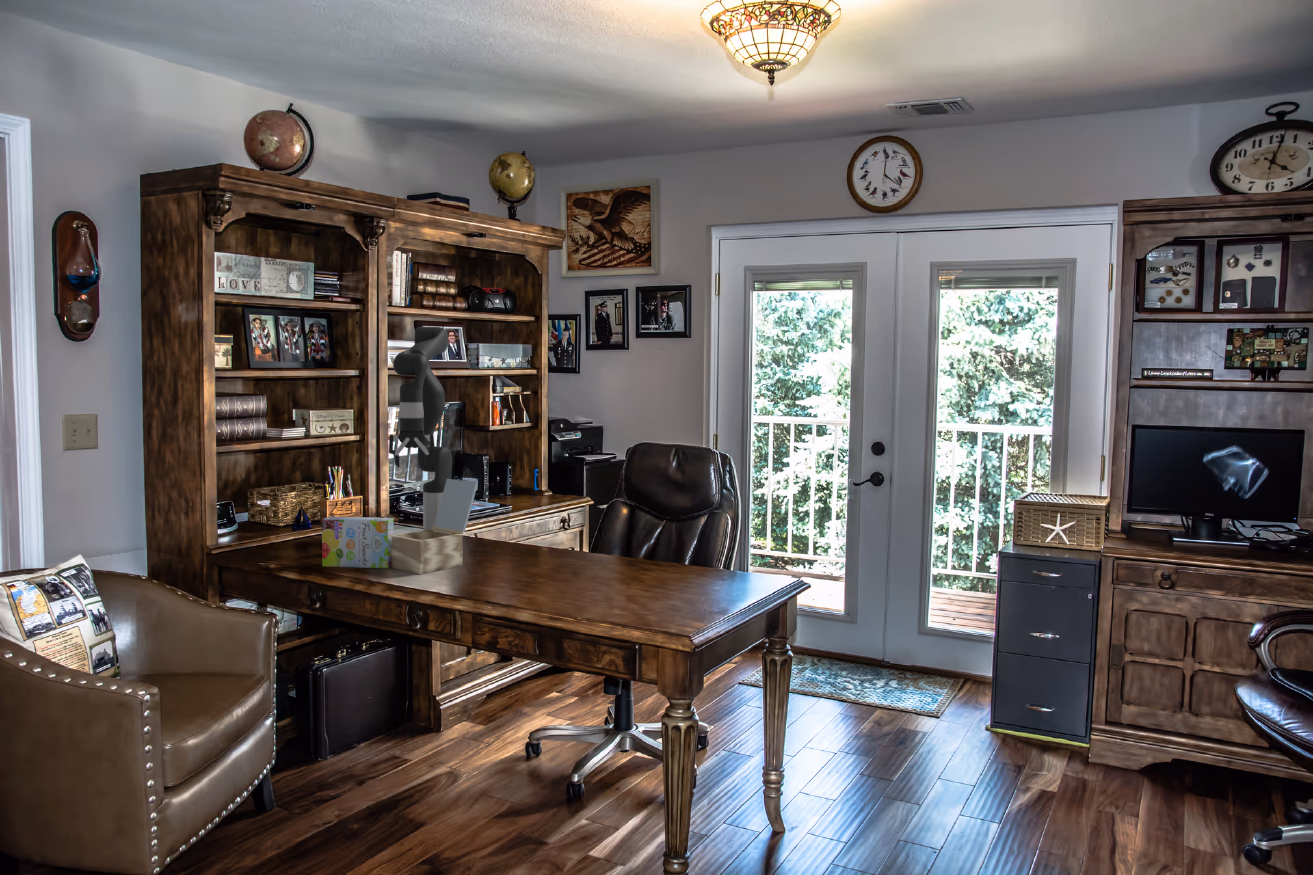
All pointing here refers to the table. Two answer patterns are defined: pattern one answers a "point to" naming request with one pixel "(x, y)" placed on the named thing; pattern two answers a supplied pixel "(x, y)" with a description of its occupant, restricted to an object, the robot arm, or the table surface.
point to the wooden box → (426, 551)
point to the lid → (455, 506)
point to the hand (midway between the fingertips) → (412, 466)
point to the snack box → (357, 542)
